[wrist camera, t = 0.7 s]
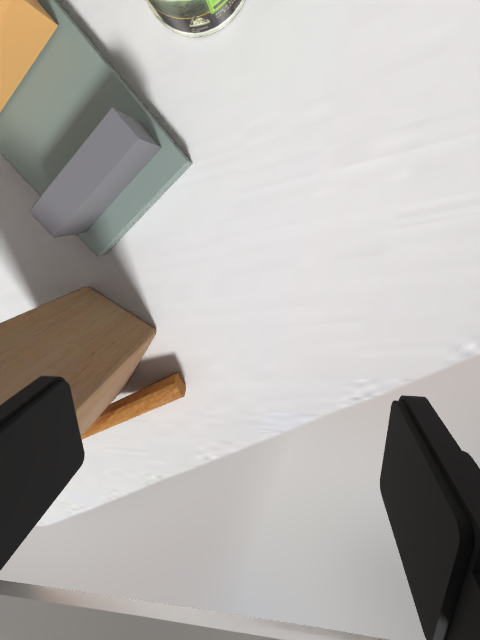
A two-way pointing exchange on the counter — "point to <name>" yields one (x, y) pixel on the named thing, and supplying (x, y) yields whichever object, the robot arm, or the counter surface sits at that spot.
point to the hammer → (139, 403)
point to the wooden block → (74, 349)
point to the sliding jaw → (20, 41)
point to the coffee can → (195, 15)
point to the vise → (85, 141)
